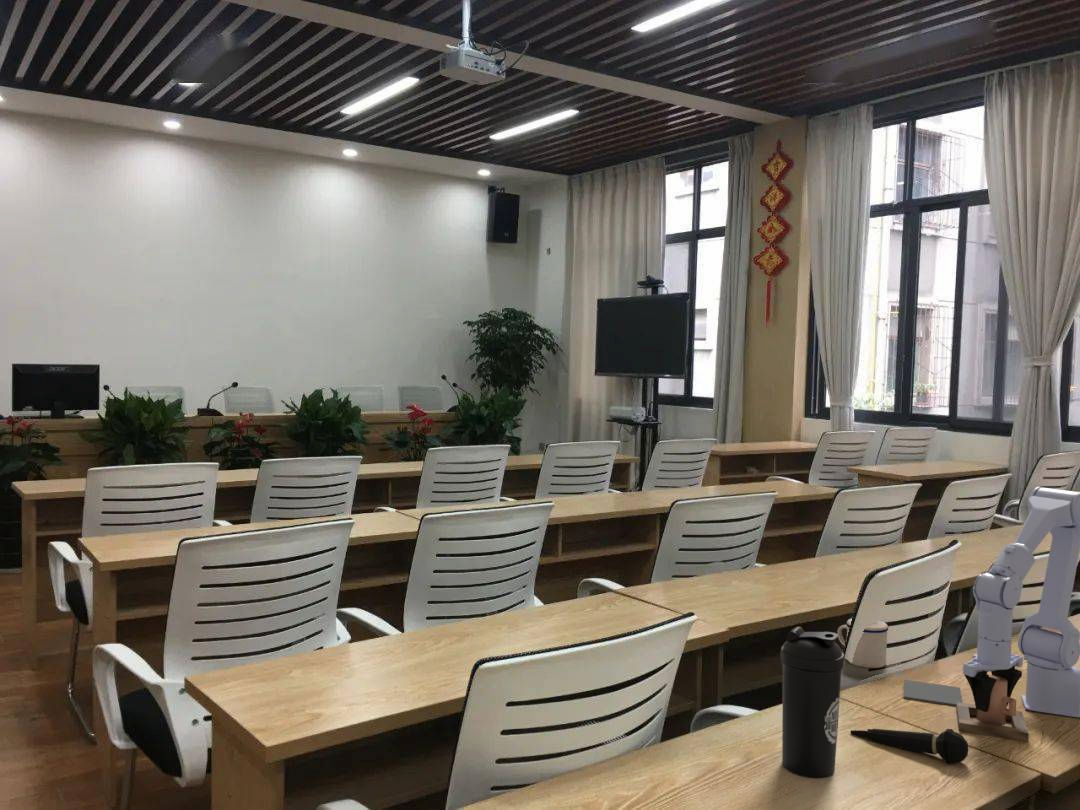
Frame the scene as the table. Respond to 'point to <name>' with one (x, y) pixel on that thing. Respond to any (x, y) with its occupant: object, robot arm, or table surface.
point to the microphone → (922, 742)
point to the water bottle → (810, 702)
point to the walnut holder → (1014, 732)
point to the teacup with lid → (869, 645)
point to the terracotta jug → (998, 704)
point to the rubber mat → (932, 692)
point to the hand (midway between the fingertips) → (991, 707)
